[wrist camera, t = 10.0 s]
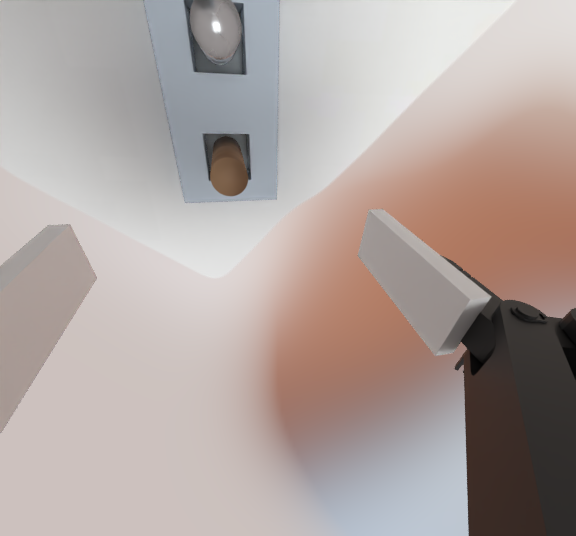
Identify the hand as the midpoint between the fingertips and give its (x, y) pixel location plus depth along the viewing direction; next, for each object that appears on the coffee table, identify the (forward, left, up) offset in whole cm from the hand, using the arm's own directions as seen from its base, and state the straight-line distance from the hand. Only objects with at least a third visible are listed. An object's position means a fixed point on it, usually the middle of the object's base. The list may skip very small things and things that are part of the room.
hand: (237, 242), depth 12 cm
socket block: (-4, 0, -21) cm, 21 cm away
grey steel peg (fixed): (-9, 0, -21) cm, 22 cm away
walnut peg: (0, 0, -21) cm, 21 cm away
